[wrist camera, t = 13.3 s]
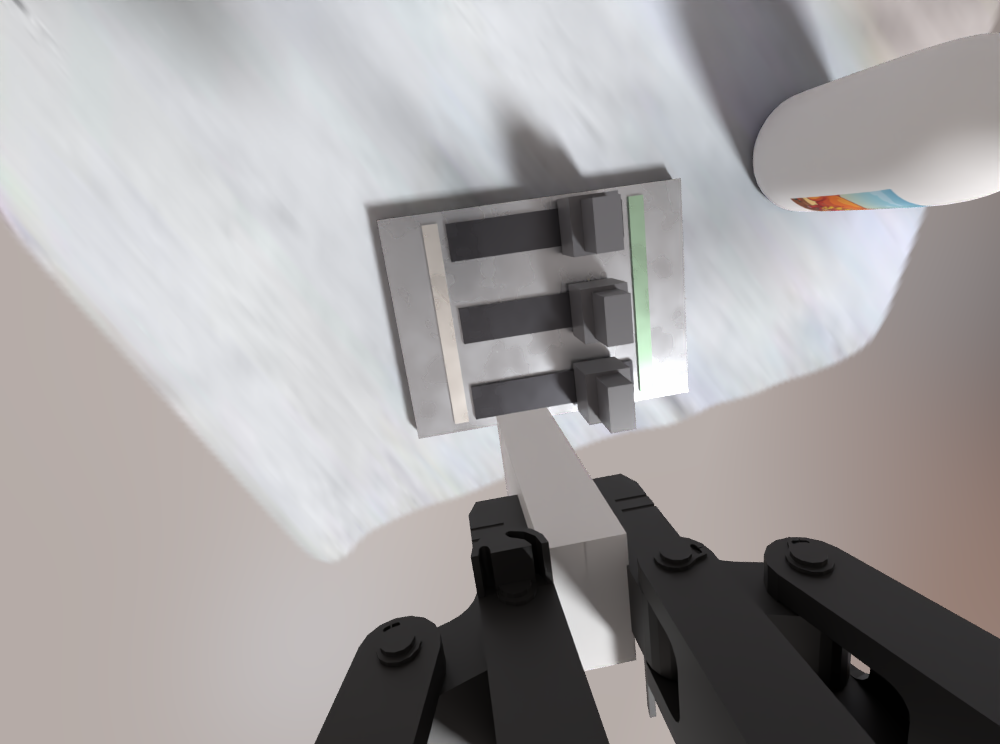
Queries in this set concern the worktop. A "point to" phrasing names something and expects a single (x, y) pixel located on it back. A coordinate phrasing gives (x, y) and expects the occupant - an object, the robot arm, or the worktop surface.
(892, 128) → the milk bottle
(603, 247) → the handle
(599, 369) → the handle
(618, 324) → the handle mid
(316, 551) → the worktop surface
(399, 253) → the panel
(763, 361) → the worktop surface
